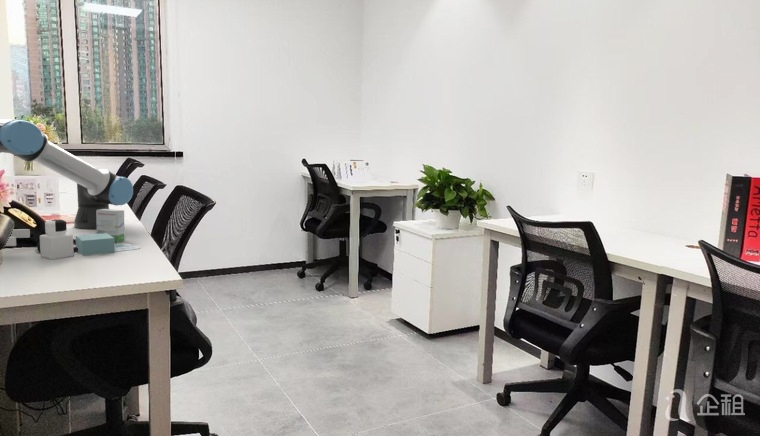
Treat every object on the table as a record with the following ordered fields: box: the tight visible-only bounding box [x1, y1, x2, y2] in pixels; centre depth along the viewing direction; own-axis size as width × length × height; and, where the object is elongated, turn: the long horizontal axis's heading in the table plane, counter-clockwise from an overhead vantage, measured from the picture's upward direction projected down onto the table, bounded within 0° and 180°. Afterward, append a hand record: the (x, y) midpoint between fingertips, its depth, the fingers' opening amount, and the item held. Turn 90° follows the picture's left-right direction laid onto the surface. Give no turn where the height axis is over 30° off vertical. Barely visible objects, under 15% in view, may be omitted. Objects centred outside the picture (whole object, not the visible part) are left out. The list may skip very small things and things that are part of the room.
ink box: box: [96, 208, 125, 243], centre depth 212 cm, size 9×5×12 cm, turn 84°
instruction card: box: [114, 242, 141, 252], centre depth 202 cm, size 12×8×1 cm, turn 47°
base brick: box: [75, 233, 116, 256], centre depth 195 cm, size 10×10×5 cm
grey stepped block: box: [39, 219, 75, 260], centre depth 185 cm, size 7×7×12 cm
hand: (23, 237), depth 182 cm, fingers open, 13 cm apart
